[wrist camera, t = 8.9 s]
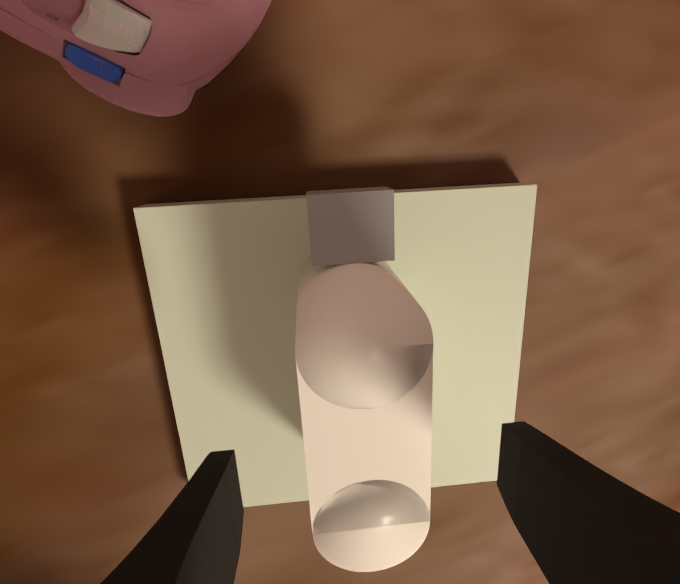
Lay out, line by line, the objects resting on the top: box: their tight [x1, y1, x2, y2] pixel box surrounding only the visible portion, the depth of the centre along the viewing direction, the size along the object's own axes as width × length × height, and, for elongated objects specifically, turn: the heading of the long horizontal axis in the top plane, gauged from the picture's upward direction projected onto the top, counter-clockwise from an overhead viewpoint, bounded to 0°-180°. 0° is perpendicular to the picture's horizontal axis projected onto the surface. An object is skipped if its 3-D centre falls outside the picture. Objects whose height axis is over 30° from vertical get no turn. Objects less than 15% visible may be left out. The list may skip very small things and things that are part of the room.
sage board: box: [133, 183, 537, 507], centre depth 17 cm, size 13×14×1 cm
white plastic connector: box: [295, 186, 433, 572], centre depth 14 cm, size 12×4×5 cm, turn 3°
